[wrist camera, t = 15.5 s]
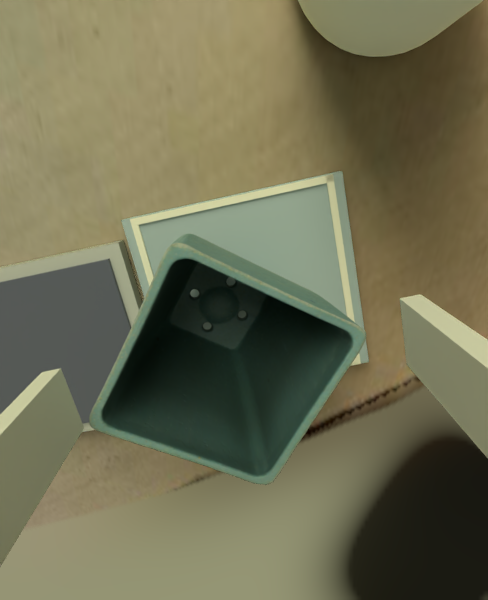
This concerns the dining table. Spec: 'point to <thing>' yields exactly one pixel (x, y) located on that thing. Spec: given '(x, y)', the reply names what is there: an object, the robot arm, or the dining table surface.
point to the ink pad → (66, 320)
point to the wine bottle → (383, 22)
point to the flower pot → (225, 363)
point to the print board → (266, 238)
